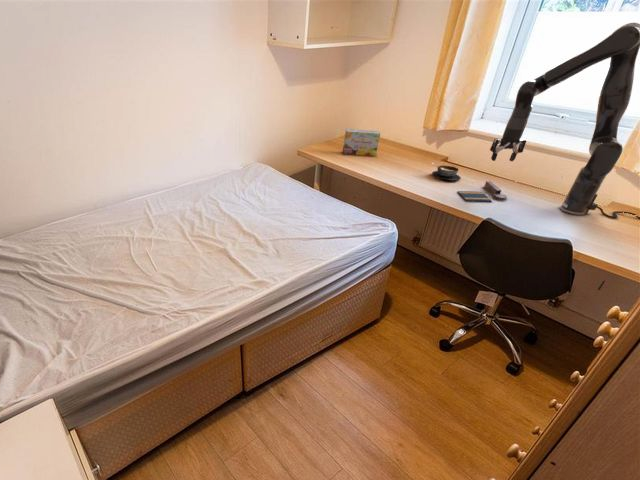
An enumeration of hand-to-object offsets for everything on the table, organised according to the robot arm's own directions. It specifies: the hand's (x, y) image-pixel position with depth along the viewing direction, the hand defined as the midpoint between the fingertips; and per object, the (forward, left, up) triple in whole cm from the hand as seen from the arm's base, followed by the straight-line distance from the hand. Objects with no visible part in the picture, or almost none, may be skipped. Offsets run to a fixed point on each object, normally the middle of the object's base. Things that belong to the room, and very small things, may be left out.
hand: (502, 160), depth 187 cm
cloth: (+12, +9, -16) cm, 22 cm away
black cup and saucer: (+17, -18, -16) cm, 30 cm away
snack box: (+58, -56, -16) cm, 82 cm away
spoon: (0, +4, -16) cm, 17 cm away
